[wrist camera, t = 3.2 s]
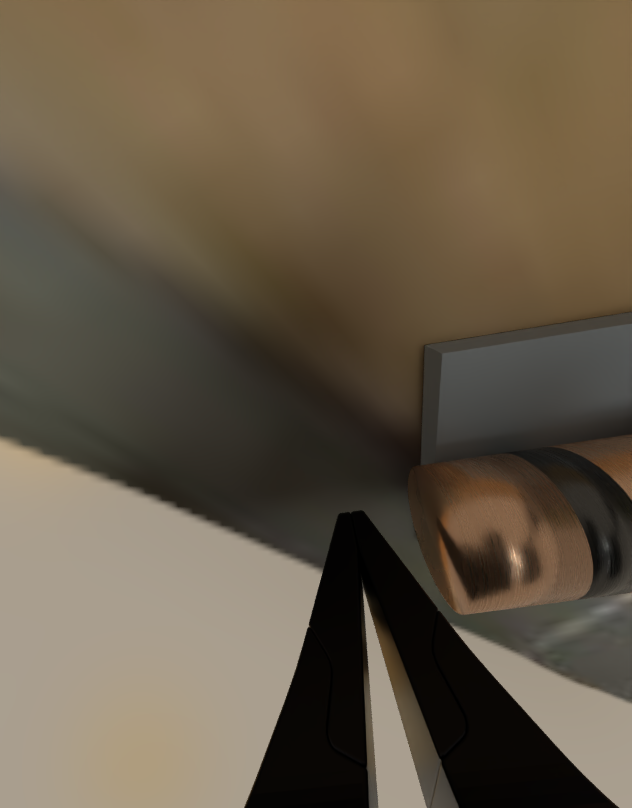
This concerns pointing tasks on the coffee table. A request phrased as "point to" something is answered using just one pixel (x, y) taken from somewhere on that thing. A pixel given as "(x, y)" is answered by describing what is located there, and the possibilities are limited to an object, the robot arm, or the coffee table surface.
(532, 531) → the copper tube
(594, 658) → the coffee table surface
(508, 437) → the board
